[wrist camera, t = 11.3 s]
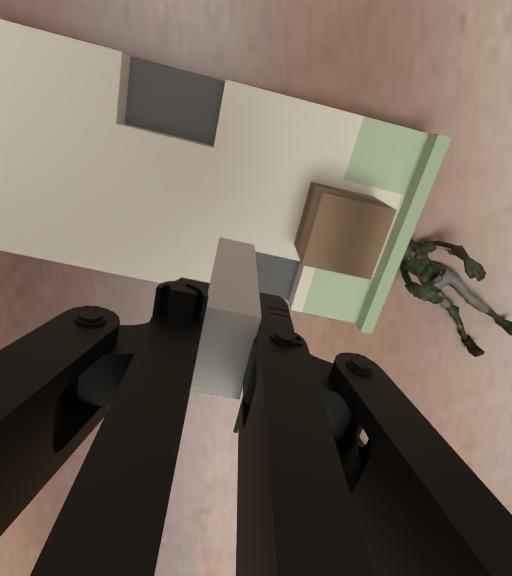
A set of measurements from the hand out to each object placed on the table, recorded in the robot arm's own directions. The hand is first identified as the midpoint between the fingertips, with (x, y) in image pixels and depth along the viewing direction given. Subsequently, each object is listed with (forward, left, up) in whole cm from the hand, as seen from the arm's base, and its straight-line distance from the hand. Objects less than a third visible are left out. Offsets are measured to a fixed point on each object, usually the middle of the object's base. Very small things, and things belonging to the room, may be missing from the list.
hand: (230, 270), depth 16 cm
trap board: (-3, 0, -17) cm, 17 cm away
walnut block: (+7, 0, -14) cm, 16 cm away
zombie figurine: (+20, -3, -18) cm, 27 cm away
